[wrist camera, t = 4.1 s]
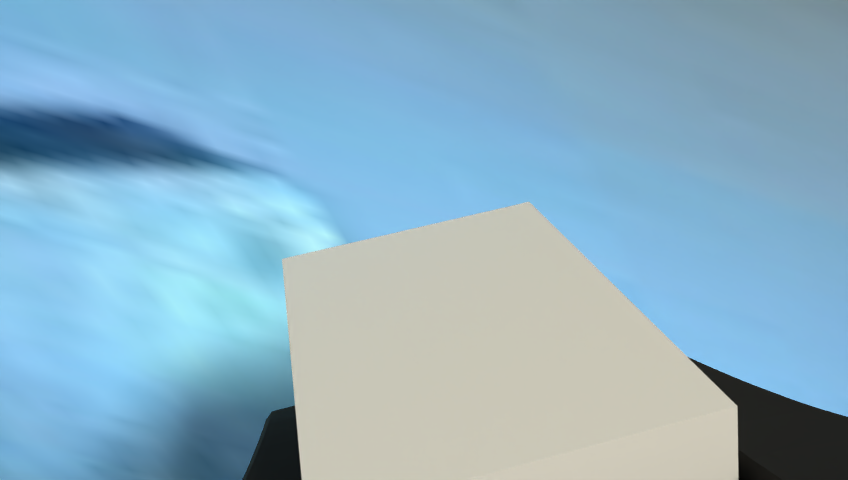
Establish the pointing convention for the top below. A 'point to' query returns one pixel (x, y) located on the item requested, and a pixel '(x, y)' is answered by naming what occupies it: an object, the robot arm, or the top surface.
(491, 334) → the chute block
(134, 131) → the top surface
